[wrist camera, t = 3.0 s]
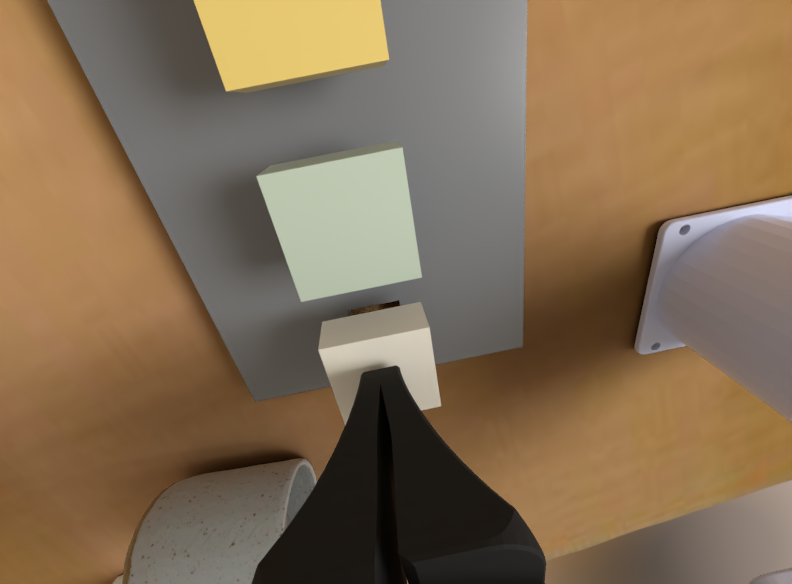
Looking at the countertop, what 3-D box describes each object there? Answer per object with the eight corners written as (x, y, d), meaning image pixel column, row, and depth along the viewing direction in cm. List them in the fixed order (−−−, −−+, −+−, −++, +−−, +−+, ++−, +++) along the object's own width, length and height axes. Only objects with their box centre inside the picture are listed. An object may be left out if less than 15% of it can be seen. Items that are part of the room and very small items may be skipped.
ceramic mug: (161, 453, 21) (70, 626, 14) (300, 429, 21) (275, 587, 14) (227, 542, 26) (183, 698, 19) (337, 523, 26) (331, 669, 20)
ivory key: (415, 285, 15) (429, 327, 12) (426, 356, 17) (441, 406, 14) (324, 304, 15) (318, 349, 12) (346, 373, 17) (345, 426, 14)
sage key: (391, 136, 12) (402, 147, 9) (408, 242, 14) (422, 277, 11) (278, 158, 12) (256, 175, 9) (311, 262, 14) (301, 301, 11)
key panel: (511, -158, 10) (529, -188, 9) (513, 333, 19) (523, 346, 18) (37, -69, 10) (1, -89, 9) (260, 385, 19) (255, 401, 18)
